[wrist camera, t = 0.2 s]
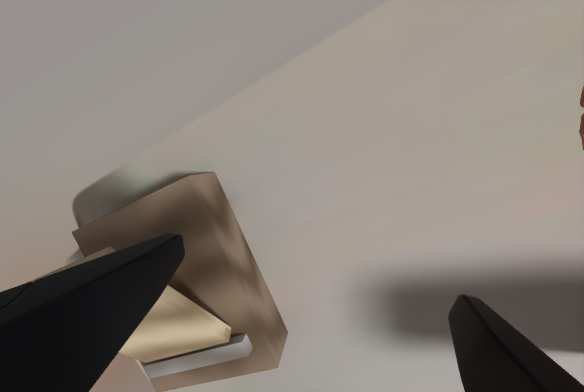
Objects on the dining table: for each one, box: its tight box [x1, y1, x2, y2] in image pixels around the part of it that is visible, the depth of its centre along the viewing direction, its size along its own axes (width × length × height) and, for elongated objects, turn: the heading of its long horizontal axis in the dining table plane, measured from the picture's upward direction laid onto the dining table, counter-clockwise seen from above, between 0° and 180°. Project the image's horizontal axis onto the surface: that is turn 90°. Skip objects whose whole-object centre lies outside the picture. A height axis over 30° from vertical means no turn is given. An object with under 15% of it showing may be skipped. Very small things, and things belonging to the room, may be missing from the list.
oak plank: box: [27, 247, 231, 363], centre depth 19 cm, size 13×10×1 cm
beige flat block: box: [72, 172, 288, 392], centre depth 25 cm, size 20×15×6 cm
